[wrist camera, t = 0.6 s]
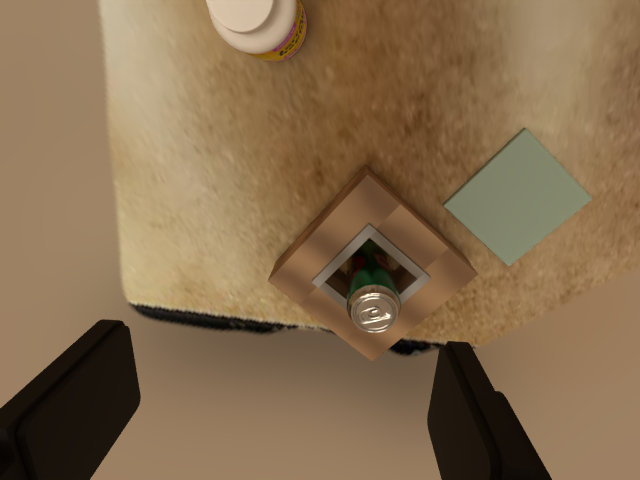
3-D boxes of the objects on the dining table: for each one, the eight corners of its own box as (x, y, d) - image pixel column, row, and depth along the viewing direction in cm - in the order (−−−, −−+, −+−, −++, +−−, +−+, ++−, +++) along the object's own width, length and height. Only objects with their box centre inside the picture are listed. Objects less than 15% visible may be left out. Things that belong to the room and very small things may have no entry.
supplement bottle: (291, 74, 38) (265, 66, 26) (231, 44, 37) (176, 22, 25) (319, 4, 35) (304, -40, 23) (255, -29, 35) (206, -92, 23)
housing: (365, 164, 40) (367, 175, 35) (464, 255, 44) (479, 277, 38) (275, 261, 46) (266, 283, 41) (370, 336, 49) (372, 365, 44)
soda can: (395, 267, 45) (411, 325, 34) (357, 282, 46) (360, 343, 35) (379, 232, 43) (389, 281, 32) (340, 248, 44) (337, 301, 33)
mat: (523, 127, 38) (526, 128, 37) (589, 197, 40) (592, 198, 40) (442, 204, 42) (443, 205, 41) (506, 264, 44) (508, 266, 43)
